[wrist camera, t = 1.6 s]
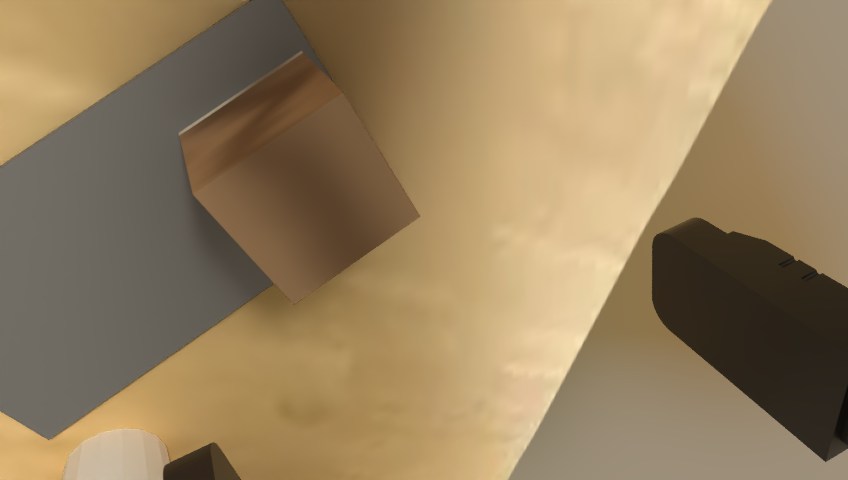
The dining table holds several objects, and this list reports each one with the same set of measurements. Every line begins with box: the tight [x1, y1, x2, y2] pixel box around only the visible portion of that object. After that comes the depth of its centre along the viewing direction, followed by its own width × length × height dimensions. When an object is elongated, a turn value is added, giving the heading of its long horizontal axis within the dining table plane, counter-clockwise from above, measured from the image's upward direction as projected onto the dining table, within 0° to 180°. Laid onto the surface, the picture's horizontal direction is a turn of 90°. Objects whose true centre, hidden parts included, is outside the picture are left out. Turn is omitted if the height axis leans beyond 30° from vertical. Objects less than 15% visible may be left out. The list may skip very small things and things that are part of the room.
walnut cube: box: [179, 51, 420, 305], centre depth 29 cm, size 7×7×7 cm
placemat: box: [0, 0, 334, 440], centre depth 31 cm, size 24×13×1 cm, turn 117°
